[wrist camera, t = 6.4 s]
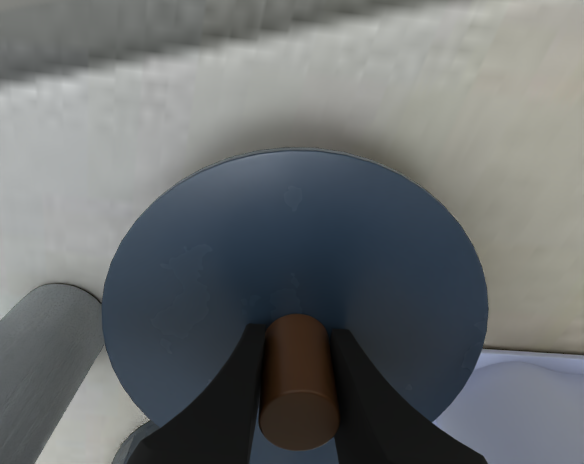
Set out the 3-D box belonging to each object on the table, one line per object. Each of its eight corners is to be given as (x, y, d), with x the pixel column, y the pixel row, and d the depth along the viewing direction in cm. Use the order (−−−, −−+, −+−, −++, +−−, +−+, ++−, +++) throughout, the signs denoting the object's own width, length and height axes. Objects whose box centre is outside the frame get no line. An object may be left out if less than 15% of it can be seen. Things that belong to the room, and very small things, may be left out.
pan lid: (524, 161, 14) (632, 213, 10) (432, 457, 20) (475, 576, 16) (94, 124, 14) (2, 163, 9) (124, 442, 19) (76, 563, 15)
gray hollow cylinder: (88, 368, 23) (-40, 586, 14) (7, 330, 22) (-194, 540, 13) (125, 310, 22) (10, 509, 12) (40, 266, 21) (-158, 449, 11)
